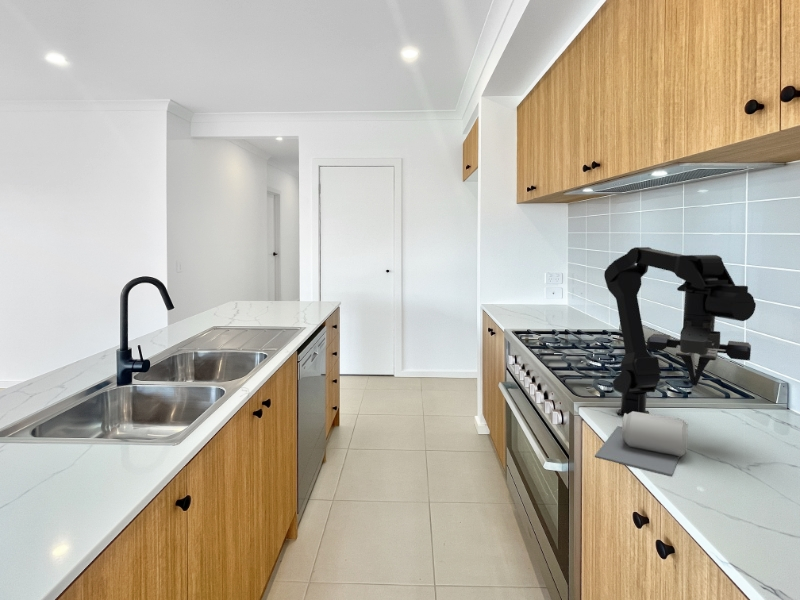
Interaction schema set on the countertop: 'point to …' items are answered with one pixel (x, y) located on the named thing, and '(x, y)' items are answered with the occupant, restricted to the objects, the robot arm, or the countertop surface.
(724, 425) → the countertop surface
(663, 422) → the can
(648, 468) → the mat
